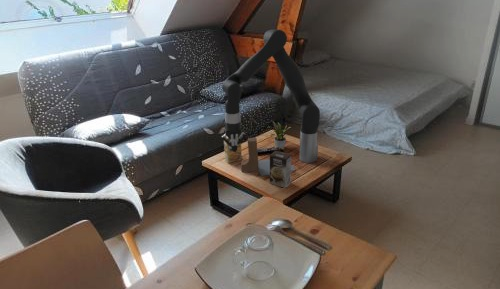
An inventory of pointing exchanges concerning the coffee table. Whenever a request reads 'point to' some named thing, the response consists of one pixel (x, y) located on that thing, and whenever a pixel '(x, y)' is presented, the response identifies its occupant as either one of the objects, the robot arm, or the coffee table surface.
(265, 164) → the slate rubber mat
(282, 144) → the house plant
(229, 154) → the candy box
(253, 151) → the wooden block
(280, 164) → the coffee box
